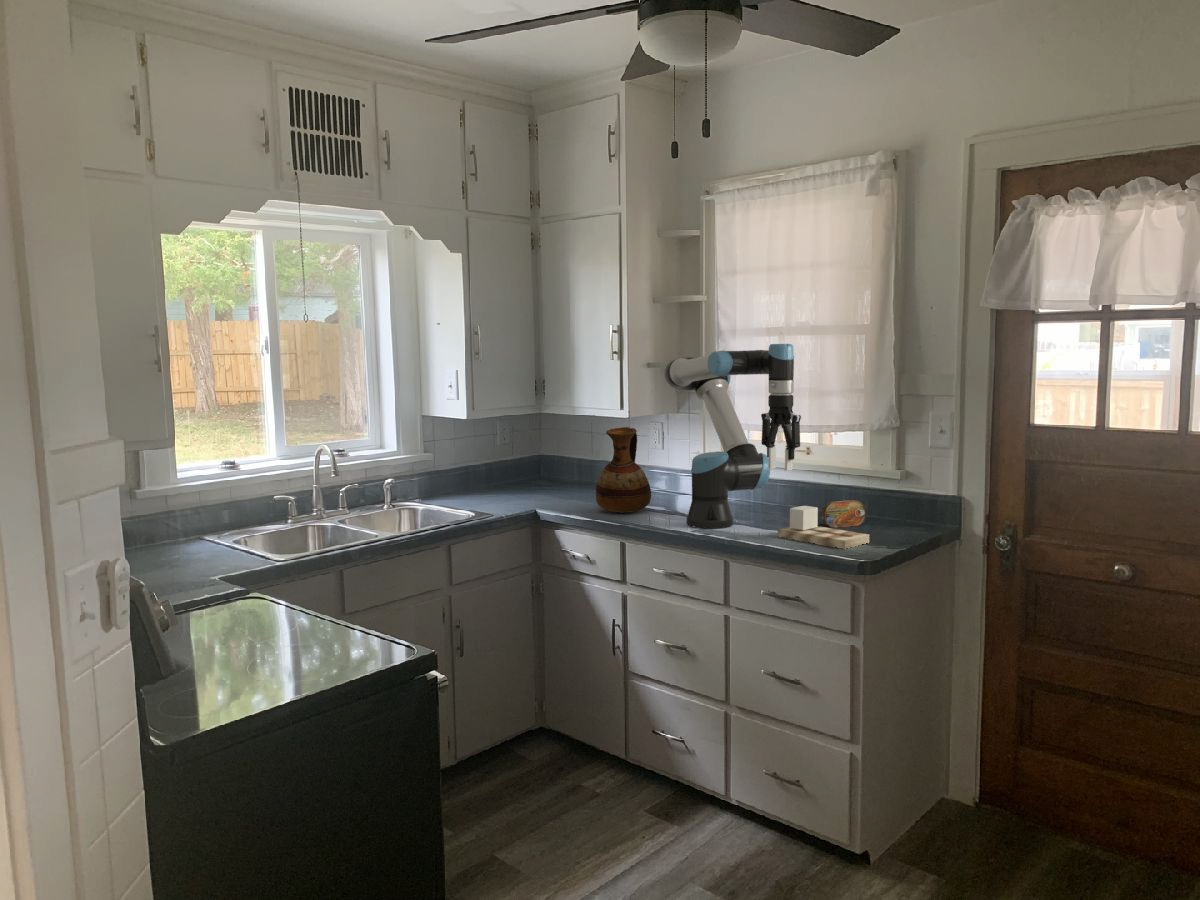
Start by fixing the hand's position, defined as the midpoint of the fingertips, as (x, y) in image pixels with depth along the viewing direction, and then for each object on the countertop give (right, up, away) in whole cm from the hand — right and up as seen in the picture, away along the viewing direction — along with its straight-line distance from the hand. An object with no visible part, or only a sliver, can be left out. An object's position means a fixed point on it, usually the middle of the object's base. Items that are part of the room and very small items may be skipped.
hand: (780, 469), depth 285 cm
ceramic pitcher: (-47, -16, +44) cm, 67 cm away
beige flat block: (+11, -21, -10) cm, 25 cm away
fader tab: (+6, -18, -5) cm, 19 cm away
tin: (+22, -19, +10) cm, 31 cm away
